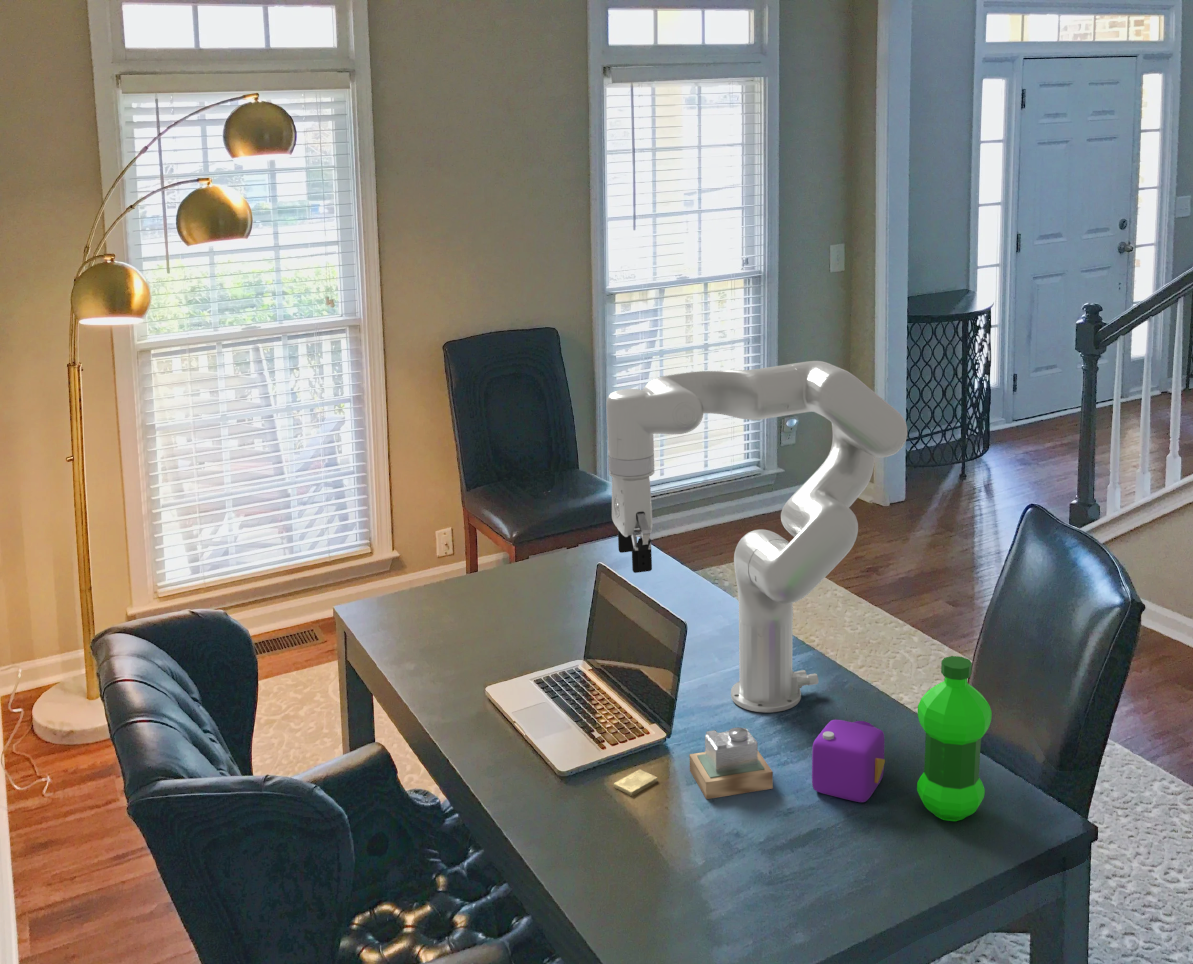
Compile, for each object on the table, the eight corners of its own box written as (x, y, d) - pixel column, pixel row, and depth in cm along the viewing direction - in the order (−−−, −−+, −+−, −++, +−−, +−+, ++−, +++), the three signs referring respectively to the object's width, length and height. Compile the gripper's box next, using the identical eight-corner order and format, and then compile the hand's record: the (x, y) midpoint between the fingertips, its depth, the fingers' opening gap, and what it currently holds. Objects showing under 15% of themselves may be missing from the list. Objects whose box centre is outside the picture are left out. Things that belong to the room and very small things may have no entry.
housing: (716, 772, 201) (715, 744, 200) (705, 757, 206) (704, 729, 204) (757, 764, 203) (757, 736, 201) (745, 749, 208) (745, 722, 206)
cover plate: (639, 775, 209) (639, 769, 208) (657, 784, 206) (657, 777, 205) (613, 790, 205) (613, 783, 204) (631, 798, 202) (631, 792, 202)
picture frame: (753, 760, 210) (753, 743, 209) (772, 788, 202) (772, 770, 201) (689, 770, 208) (689, 753, 207) (706, 799, 200) (705, 781, 199)
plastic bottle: (941, 786, 201) (947, 641, 193) (998, 813, 193) (1008, 663, 185) (900, 810, 195) (905, 661, 187) (958, 839, 187) (966, 685, 179)
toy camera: (889, 764, 208) (891, 709, 204) (879, 809, 195) (880, 751, 192) (823, 756, 211) (824, 701, 208) (808, 799, 199) (809, 742, 196)
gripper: (597, 452, 218) (602, 546, 223) (621, 482, 202) (625, 582, 207) (640, 448, 219) (643, 541, 224) (667, 477, 203) (670, 576, 208)
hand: (634, 561), depth 216 cm, fingers open, 9 cm apart
